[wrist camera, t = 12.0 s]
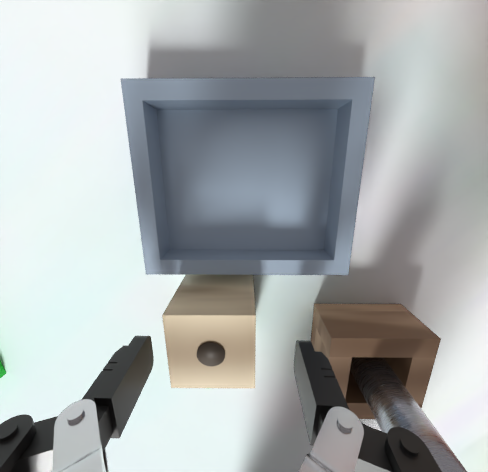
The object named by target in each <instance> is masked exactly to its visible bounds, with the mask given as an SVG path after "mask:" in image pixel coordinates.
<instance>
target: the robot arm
mask: <svg viewBox="0 0 488 472" xmlns="http://www.w3.org/2000/svg"><path fill="white" fill-rule="evenodd" d="M152 367H153V350H152V342H151V337H150V336H135V337H134V338H133V339H132V341H131V342H130V344H129V346H123V347H122V348H120V349H119V350H118V351H117V352H115V353H114V355H113V356H112V357H111V359H110V360H109V362H108V364H107V365H106V366H105V367H104V369H103V371H102V372H101V373H100V374H99V376H98V377H97V379H96V380H95V381H94V383H93V384H92V386H91V387H90V388H89V390H88V391H87V393H86V394H85V396H84V397H83V398H82V400H79V401H77V402H74V403H73V404H71V405H69V406H68V407H67V408H65V409H64V410H63V411H62V412H61V413H60V415H59V416H57V417H53V418H50V419H46V420H42V421H39V422H35V423H34V422H33V419H32V417H31V416H29V415H19V416H15V417H13V418H10V419H8V420H7V421H5V422H3V423H2V424H0V472H109V468H108V461H107V454H106V448H105V447H106V445H107V444H108V442H109V440H110V438H120V436H121V434H122V432H123V430H124V428H125V425H126V423H127V421H128V419H129V417H130V415H131V413H132V411H133V408H134V406H135V404H136V402H137V400H138V398H139V396H140V394H141V391H142V389H143V387H144V385H145V383H146V381H147V379H148V377H149V374H150V372H151V370H152ZM294 373H295V378H296V383H297V387H298V392H299V396H300V401H301V405H302V410H303V414H304V419H305V423H306V428H307V432H308V437H309V441H310V445H313V448H312V450H311V452H310V454H307V455H306V457H305V459H304V461H303V463H302V465H301V467H300V470H299V472H442V471H441V469H440V468H439V466H438V464H437V463H436V461H435V459H434V458H433V456H432V454H431V452H430V451H429V449H428V447H427V446H426V445H425V443H424V442H423V441H422V440H421V439H420V438H419V437H418V436H417V435H415V434H414V433H413V432H411V431H409V430H407V429H405V428H402V427H393V428H391V429H390V430H389V431H388V433H385V432H382V431H379V430H376V429H373V428H371V427H368V426H366V425H365V424H363V423H362V422H361V421H360V420H359V418H358V417H357V416H356V415H355V414H354V413H353V412H352V411H350V409H349V407H348V405H347V403H346V400H345V398H344V395H343V393H342V391H341V388H340V386H339V383H338V381H337V378H336V376H335V374H334V371H333V370H332V366H331V364H330V362H329V359H328V358H327V357H326V356H325V355H324V354H323V353H322V352H317V351H314V348H313V345H312V342H311V341H296V348H295V358H294Z"/></svg>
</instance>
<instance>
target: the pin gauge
mask: <svg viewBox="0 0 488 472" xmlns="http://www.w3.org/2000/svg"><path fill="white" fill-rule="evenodd" d="M350 371H351V373H352V375H353V377H354V379H355V381H356V382H357V384H358V386H359V388H360V390H361V392H362V394H363V396H364V398H365V400H366V402H367V404H368V406H369V408H370V410H371V411H372V413H373V415H374V417H375V419H376V421H377V423H378V425H379V427H380V429H381V431H382V432H385V433H388V431H389V430H390V429H391V428H393V427H402V428H405V429H407V430H409V431H411V432H413V433H414V434H415V435H417V436H418V437H419V438H420V439H421V440H422V441H423V442H424V443H425V445H426V446H427V447H428V449H429V451H430V452H431V454H432V456H433V458H434V459H435V461H436V463H437V464H438V466H439V468H440V469H441V471H442V472H467V471H466V470H465V468H464V467H463V465H462V464H461V463H460V461H459V460H458V459H457V457H456V456H455V455H454V453H453V452H452V450H451V449H450V448H449V446H448V445H447V444H446V442H445V441H444V439H443V438H442V437H441V435H440V434H439V433H438V431H437V430H436V429H435V427H434V426H433V424H432V423H431V422H430V420H429V419H428V418H427V416H426V415H425V413H424V412H423V411H422V409H421V408H420V407H419V405H418V404H417V403H416V401H415V400H414V398H413V397H412V396H411V394H410V393H409V392H408V390H407V389H406V387H405V386H404V385H403V383H402V382H401V381H400V379H399V378H398V377H397V375H396V374H395V372H394V371H393V370H392V368H391V367H390V366H389V364H388V363H387V361H386V360H385V359H384V358H382V357H352V360H351V366H350Z"/></svg>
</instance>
